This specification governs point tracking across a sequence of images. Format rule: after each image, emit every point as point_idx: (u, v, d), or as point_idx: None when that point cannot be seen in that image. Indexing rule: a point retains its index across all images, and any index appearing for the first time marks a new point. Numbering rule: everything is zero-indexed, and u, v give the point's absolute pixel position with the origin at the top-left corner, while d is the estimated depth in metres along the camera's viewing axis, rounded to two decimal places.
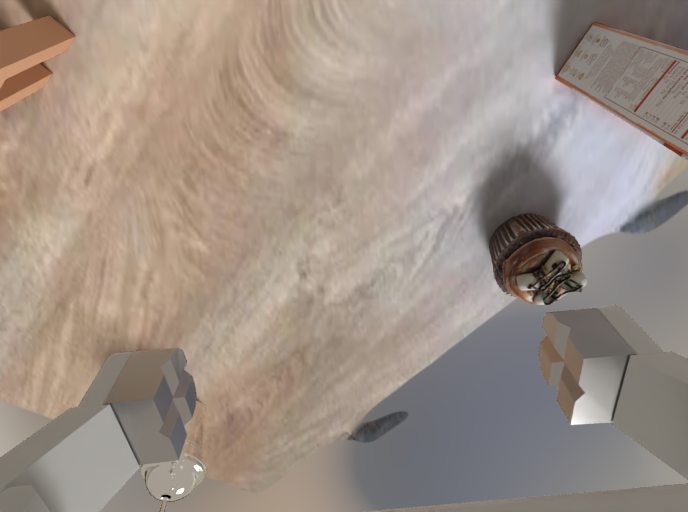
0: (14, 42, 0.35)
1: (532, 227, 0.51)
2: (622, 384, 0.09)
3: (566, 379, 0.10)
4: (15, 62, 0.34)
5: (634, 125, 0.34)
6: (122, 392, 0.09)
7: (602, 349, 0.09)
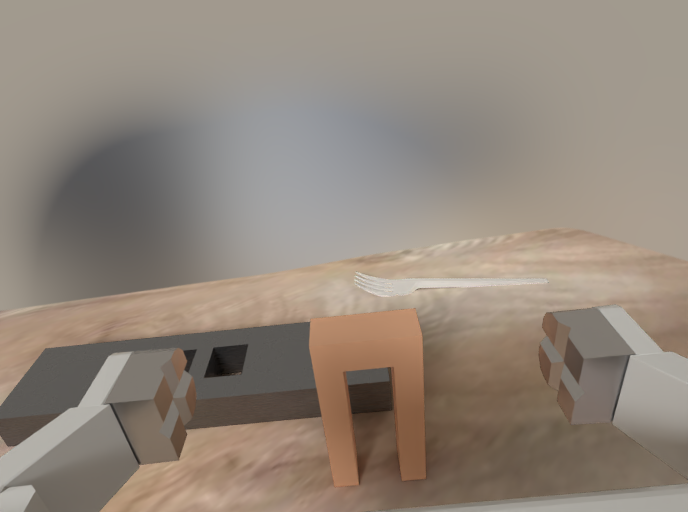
0: None
1: None
2: (622, 384, 0.09)
3: (566, 379, 0.10)
4: (422, 363, 0.26)
5: None
6: (123, 392, 0.09)
7: (602, 349, 0.09)
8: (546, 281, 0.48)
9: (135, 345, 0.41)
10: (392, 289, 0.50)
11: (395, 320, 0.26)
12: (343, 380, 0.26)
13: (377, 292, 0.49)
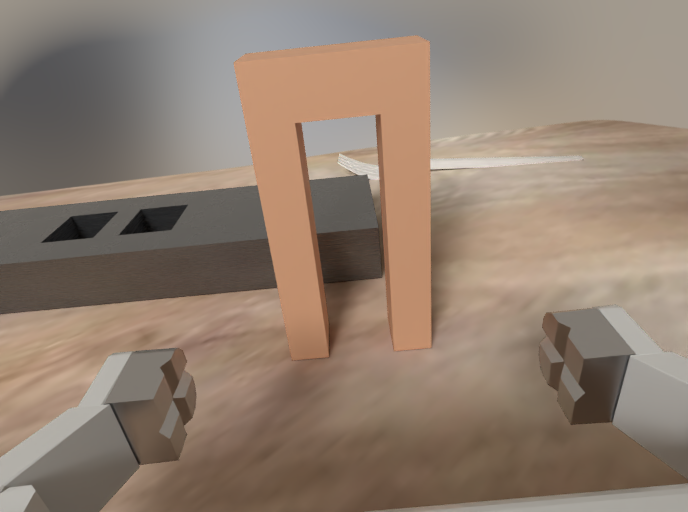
0: None
1: None
2: (622, 384, 0.09)
3: (566, 379, 0.10)
4: (429, 109, 0.15)
5: None
6: (122, 392, 0.09)
7: (602, 349, 0.09)
8: (580, 158, 0.38)
9: (38, 211, 0.31)
10: None
11: (384, 41, 0.16)
12: (296, 144, 0.16)
13: (367, 174, 0.39)
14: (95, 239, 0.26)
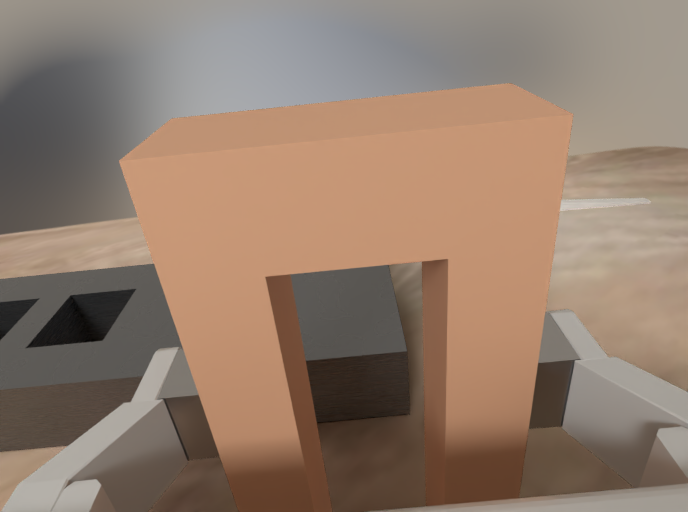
0: None
1: None
2: (569, 389, 0.09)
3: None
4: (552, 248, 0.07)
5: None
6: (174, 387, 0.09)
7: (548, 354, 0.09)
8: (647, 201, 0.30)
9: None
10: None
11: (452, 101, 0.07)
12: (270, 312, 0.08)
13: None
14: None
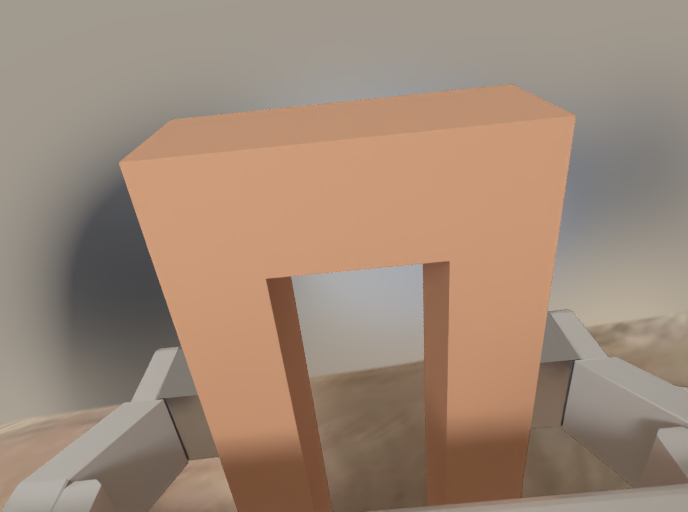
0: None
1: None
2: (569, 389, 0.09)
3: None
4: (554, 250, 0.07)
5: None
6: (174, 387, 0.09)
7: (548, 354, 0.09)
8: None
9: None
10: None
11: (454, 102, 0.07)
12: (270, 314, 0.08)
13: None
14: None
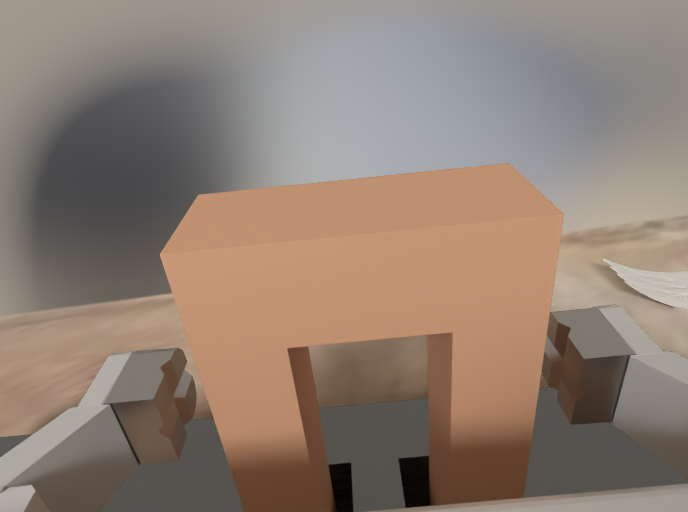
0: None
1: None
2: (622, 384, 0.09)
3: (566, 379, 0.10)
4: (546, 323, 0.08)
5: None
6: (123, 392, 0.09)
7: (602, 349, 0.09)
8: None
9: None
10: None
11: (455, 186, 0.08)
12: (290, 377, 0.08)
13: (670, 298, 0.23)
14: None
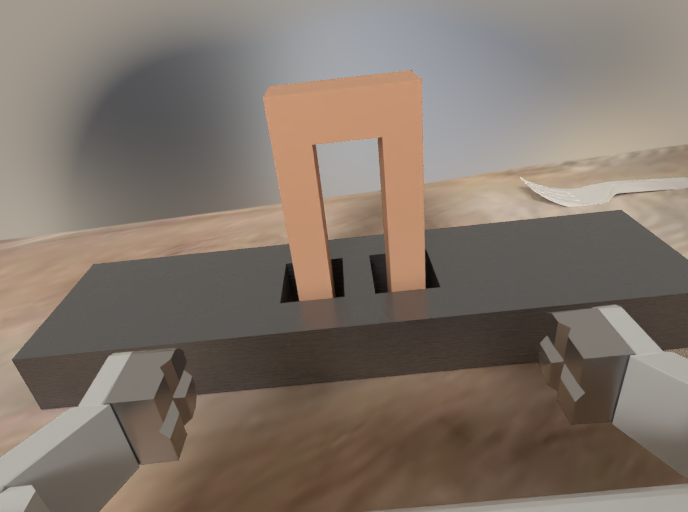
0: None
1: None
2: (622, 384, 0.09)
3: (566, 379, 0.10)
4: (422, 132, 0.19)
5: None
6: (122, 392, 0.09)
7: (602, 349, 0.09)
8: None
9: (237, 256, 0.26)
10: (578, 198, 0.35)
11: (384, 77, 0.19)
12: (313, 161, 0.19)
13: (563, 200, 0.34)
14: (350, 299, 0.21)
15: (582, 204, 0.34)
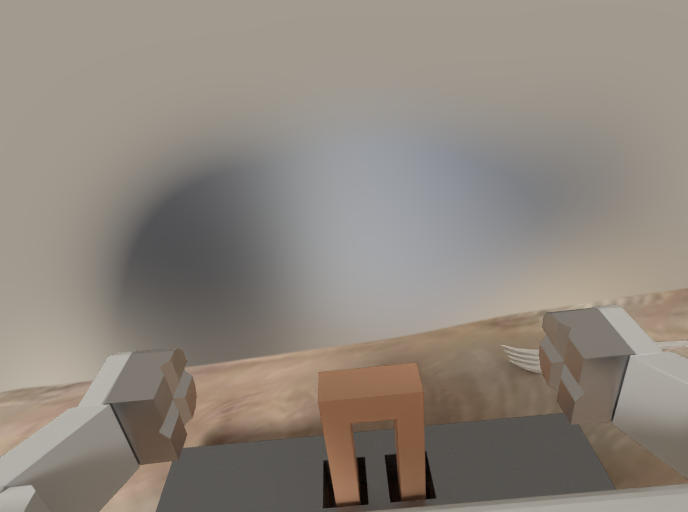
0: None
1: None
2: (622, 384, 0.09)
3: (566, 379, 0.10)
4: (423, 416, 0.28)
5: None
6: (122, 392, 0.09)
7: (602, 349, 0.09)
8: None
9: (285, 448, 0.35)
10: None
11: (398, 375, 0.28)
12: (349, 431, 0.28)
13: (534, 368, 0.43)
14: (372, 507, 0.30)
15: None
